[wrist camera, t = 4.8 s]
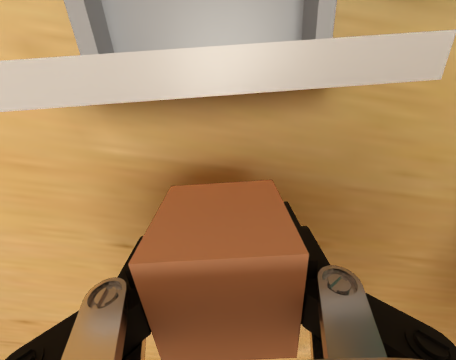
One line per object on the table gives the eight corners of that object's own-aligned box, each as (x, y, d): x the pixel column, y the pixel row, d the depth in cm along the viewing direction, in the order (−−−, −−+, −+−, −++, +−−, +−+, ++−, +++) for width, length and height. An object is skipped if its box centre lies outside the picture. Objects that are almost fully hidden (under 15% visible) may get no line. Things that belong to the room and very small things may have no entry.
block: (270, 257, 12) (296, 357, 8) (185, 262, 12) (162, 363, 8) (272, 179, 10) (308, 253, 6) (171, 186, 10) (127, 264, 6)
